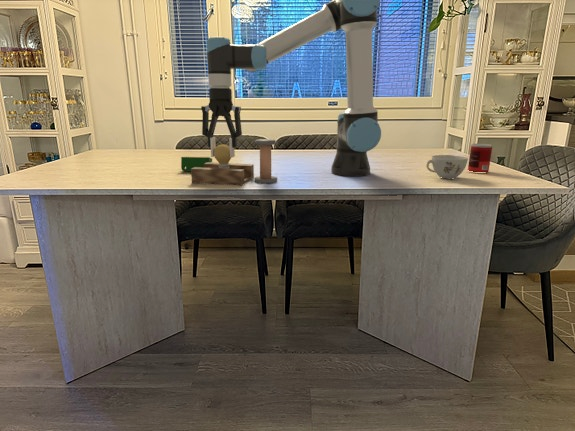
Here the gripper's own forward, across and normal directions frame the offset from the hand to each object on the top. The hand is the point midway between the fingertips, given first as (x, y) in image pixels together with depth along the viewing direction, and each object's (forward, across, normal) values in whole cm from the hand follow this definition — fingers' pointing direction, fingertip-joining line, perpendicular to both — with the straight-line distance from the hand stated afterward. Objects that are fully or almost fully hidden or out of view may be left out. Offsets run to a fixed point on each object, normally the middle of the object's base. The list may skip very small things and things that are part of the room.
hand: (222, 156), depth 141 cm
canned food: (+9, -93, -41) cm, 102 cm away
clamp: (+9, +17, -15) cm, 25 cm away
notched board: (+9, 0, 0) cm, 9 cm away
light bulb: (+6, 0, 0) cm, 6 cm away
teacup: (+9, -78, -25) cm, 82 cm away
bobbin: (+9, -15, -2) cm, 17 cm away
